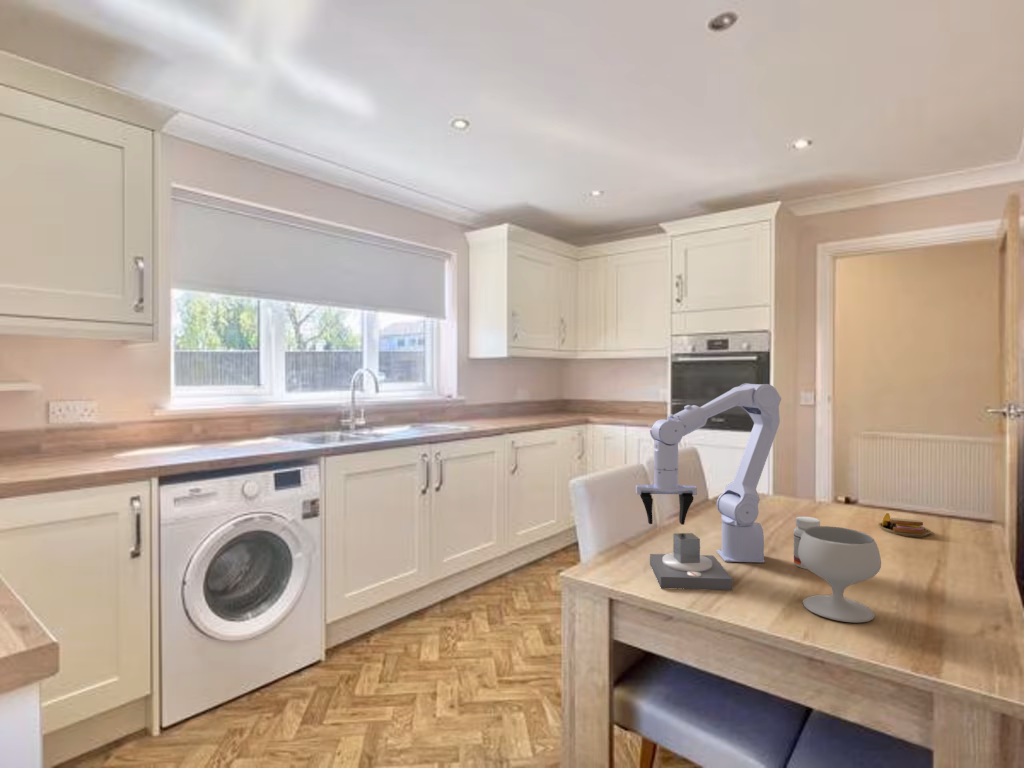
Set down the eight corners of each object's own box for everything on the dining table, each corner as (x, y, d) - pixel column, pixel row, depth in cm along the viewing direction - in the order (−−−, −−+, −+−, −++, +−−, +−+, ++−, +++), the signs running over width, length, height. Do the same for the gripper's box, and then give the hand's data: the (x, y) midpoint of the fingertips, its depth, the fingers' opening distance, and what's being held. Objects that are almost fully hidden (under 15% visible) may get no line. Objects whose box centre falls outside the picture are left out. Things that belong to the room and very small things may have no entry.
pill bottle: (827, 567, 132) (828, 520, 131) (813, 572, 128) (814, 524, 128) (802, 559, 137) (802, 514, 137) (788, 564, 133) (788, 518, 133)
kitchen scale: (713, 565, 133) (713, 552, 133) (732, 590, 118) (732, 575, 118) (649, 564, 134) (649, 550, 134) (660, 588, 120) (660, 573, 119)
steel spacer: (692, 556, 130) (692, 533, 130) (699, 562, 126) (699, 538, 126) (673, 556, 130) (673, 533, 130) (680, 563, 126) (680, 539, 125)
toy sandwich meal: (932, 530, 161) (932, 514, 161) (929, 542, 151) (929, 524, 151) (881, 523, 169) (881, 508, 169) (874, 533, 159) (875, 517, 159)
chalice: (785, 595, 115) (785, 524, 115) (853, 596, 115) (853, 524, 115) (820, 626, 101) (820, 545, 101) (898, 627, 101) (898, 546, 101)
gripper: (692, 465, 139) (691, 519, 140) (633, 465, 140) (633, 518, 141) (699, 470, 132) (699, 527, 133) (638, 470, 133) (638, 526, 134)
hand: (666, 523), depth 136 cm, fingers open, 7 cm apart
